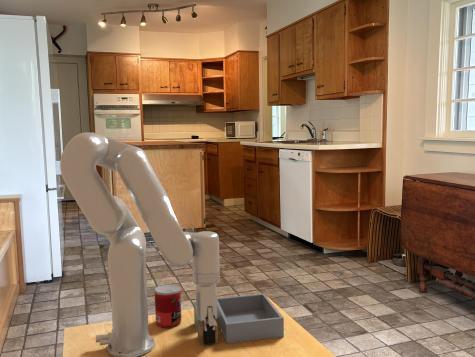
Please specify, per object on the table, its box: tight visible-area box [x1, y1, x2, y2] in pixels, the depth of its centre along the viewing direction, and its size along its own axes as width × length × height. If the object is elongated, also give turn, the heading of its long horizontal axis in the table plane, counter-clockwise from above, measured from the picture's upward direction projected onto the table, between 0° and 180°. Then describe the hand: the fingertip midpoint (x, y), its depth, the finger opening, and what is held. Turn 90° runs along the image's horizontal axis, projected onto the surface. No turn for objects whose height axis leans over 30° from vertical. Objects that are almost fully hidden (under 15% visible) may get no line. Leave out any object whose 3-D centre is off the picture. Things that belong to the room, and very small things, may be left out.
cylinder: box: [193, 300, 199, 329], centre depth 133 cm, size 5×5×7 cm
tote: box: [216, 293, 285, 345], centre depth 132 cm, size 17×20×6 cm
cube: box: [197, 319, 219, 346], centre depth 123 cm, size 5×5×5 cm
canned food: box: [154, 283, 182, 329], centre depth 134 cm, size 8×8×11 cm
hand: (207, 338), depth 123 cm, fingers closed on cube, 5 cm apart
